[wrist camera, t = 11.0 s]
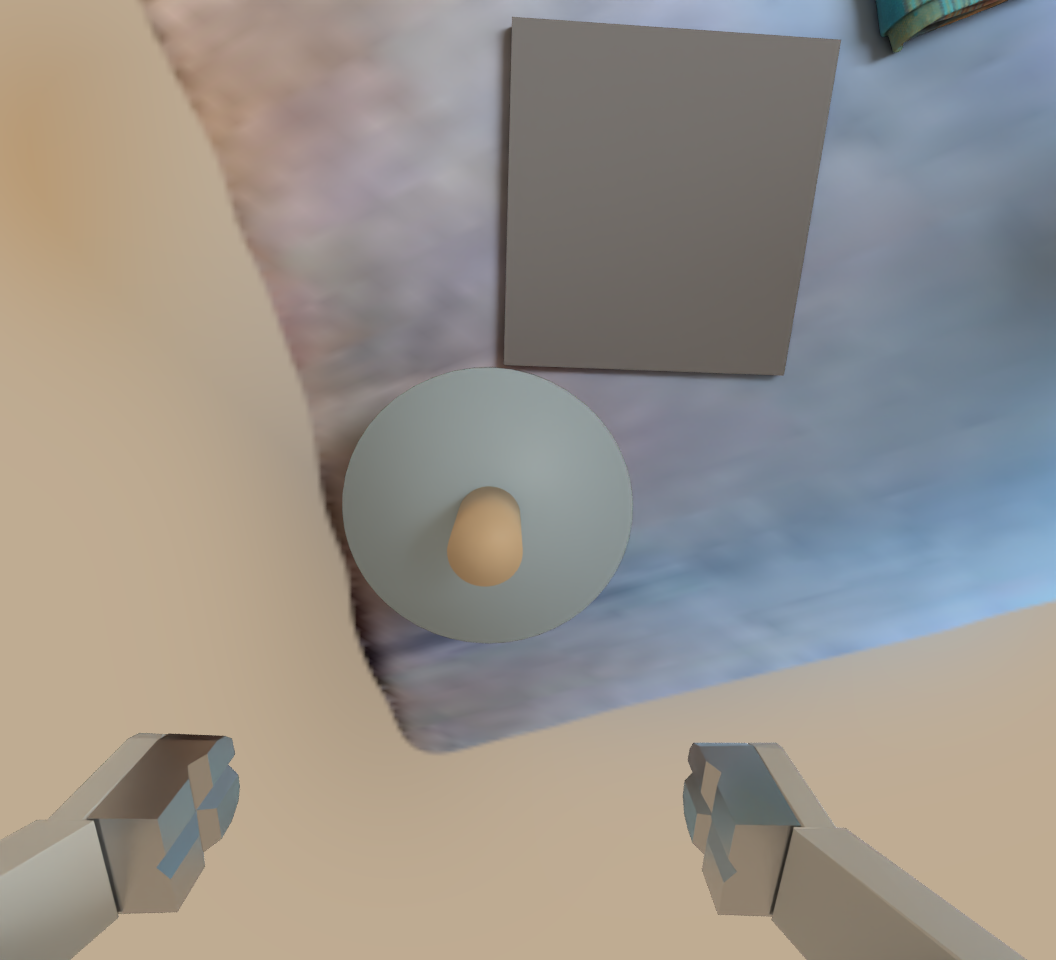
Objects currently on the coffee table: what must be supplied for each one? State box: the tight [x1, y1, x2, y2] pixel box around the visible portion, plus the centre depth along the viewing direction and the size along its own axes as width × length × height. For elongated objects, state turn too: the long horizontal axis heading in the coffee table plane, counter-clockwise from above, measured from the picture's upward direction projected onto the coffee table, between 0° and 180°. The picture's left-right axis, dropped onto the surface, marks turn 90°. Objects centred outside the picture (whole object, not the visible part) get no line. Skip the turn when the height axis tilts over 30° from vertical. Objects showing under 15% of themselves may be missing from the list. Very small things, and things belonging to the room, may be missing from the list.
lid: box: [342, 367, 633, 643], centre depth 20 cm, size 13×13×5 cm
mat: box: [504, 17, 841, 375], centre depth 24 cm, size 15×15×1 cm
